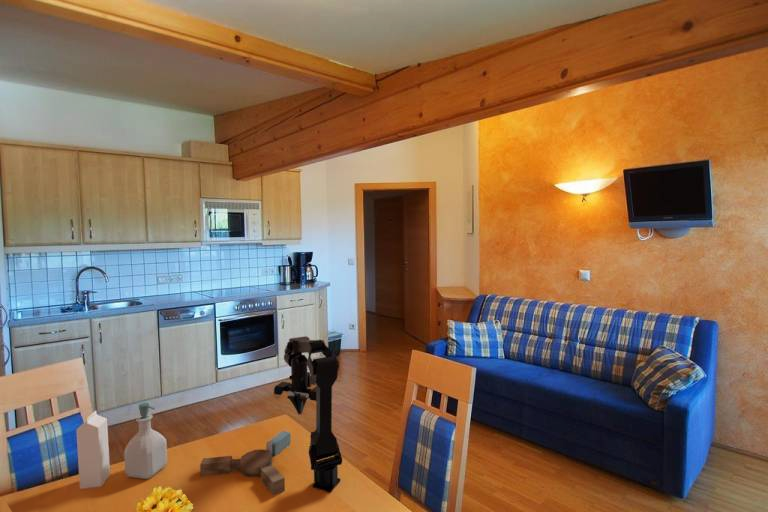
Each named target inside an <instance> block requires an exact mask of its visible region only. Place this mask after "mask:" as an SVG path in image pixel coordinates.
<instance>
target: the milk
mask: <svg viewBox="0 0 768 512" xmlns="http://www.w3.org/2000/svg"><path fill="white" fill-rule="evenodd" d="M97 412H98V411H97V410H94V411H93V412H92V413H91V414H90V415H88V416H87V417H86V421H85V422H82V424H81V425H80V426H79V427H77V429H76V431H75V432H76V444H77V445H76V447H77V459H78V461H77V463H78V465H77V466H78V480H79V482H78V483H79V489H80V490H83V489H92V488H100V487H103V485H104V484H105V483H106V481H107V480H108V479H109V477H110V476H111V466H110V448H109V428H108V418H107V417H104V416H101V415H98V413H97Z"/></svg>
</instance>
